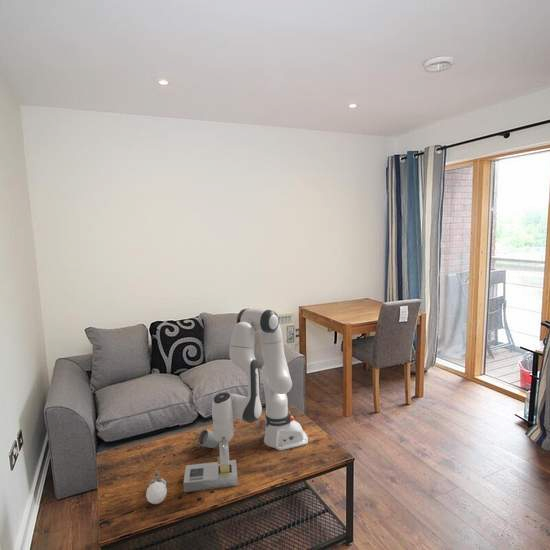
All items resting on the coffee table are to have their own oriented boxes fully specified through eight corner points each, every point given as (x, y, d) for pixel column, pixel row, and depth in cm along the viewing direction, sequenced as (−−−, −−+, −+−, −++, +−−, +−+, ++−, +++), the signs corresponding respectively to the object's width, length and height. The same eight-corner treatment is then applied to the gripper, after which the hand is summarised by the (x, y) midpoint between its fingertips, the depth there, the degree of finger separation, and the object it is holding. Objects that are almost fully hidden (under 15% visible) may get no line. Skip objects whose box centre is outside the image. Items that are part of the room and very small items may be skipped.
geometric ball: (168, 505, 147) (167, 486, 146) (147, 511, 144) (146, 492, 143) (166, 493, 154) (165, 474, 153) (145, 499, 151) (144, 480, 150)
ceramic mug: (213, 452, 185) (222, 441, 184) (199, 449, 181) (208, 437, 179) (208, 435, 194) (217, 424, 193) (195, 431, 189) (204, 420, 188)
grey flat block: (236, 468, 169) (236, 459, 169) (237, 485, 158) (237, 476, 157) (186, 473, 166) (185, 465, 166) (183, 492, 154) (183, 482, 154)
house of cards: (140, 500, 151) (139, 482, 150) (146, 485, 159) (145, 468, 159) (163, 498, 151) (162, 480, 151) (167, 484, 160) (166, 467, 159)
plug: (229, 471, 165) (228, 451, 164) (230, 477, 161) (229, 457, 160) (218, 472, 164) (217, 453, 163) (218, 478, 160) (217, 458, 159)
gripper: (231, 444, 151) (233, 476, 152) (230, 419, 171) (231, 448, 172) (215, 446, 150) (217, 478, 151) (216, 421, 170) (217, 450, 171)
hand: (224, 462), depth 162 cm, fingers closed on plug, 4 cm apart
